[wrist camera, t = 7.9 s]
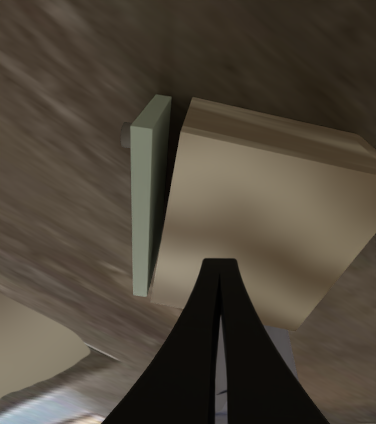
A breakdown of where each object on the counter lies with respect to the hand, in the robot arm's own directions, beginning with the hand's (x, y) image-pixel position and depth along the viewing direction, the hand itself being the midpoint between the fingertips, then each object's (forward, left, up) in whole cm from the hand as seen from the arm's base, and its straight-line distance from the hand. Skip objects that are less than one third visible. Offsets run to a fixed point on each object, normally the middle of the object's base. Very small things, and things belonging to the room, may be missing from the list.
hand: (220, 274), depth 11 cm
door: (-2, +5, -10) cm, 11 cm away
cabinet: (-2, -3, -10) cm, 11 cm away
